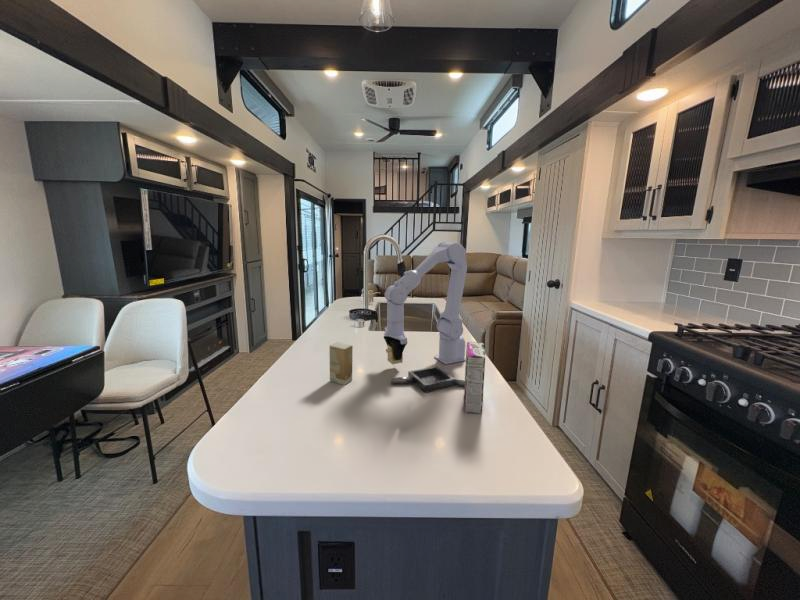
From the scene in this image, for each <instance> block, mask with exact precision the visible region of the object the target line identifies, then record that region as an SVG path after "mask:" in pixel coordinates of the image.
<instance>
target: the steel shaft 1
mask: <svg viewBox="0 0 800 600" xmlns="http://www.w3.org/2000/svg"><path fill="white" fill-rule="evenodd" d="M390 384H391V385H400V384H401V385H402V384H403V385H404V384H414V378H413V377H408V376H401V377H400V376H398V377H391V378H390Z"/></svg>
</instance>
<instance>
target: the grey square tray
mask: <svg viewBox="0 0 800 600" xmlns="http://www.w3.org/2000/svg"><path fill="white" fill-rule="evenodd" d="M407 375H408V376H407V377H413V378H414V383H413V384H414V385H415V386H416V388H418V389H419V390H420V391H422V392H423V393H424V394H429V393H432V392H433V393H434V392H437V391H441V390H446V389H450V388H454V387H456V386H455V385H454V382H455V381H456V379H457V378H455V377H454V376H452V375H450V374H449V373H448V372H446V371H445V370H443V369H442V368H440V367H439V366H438V365H435V366H430V367H424V368H419V369H414V370H410V371H409V370H408V374H407Z"/></svg>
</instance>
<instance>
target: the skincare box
mask: <svg viewBox="0 0 800 600" xmlns="http://www.w3.org/2000/svg"><path fill="white" fill-rule="evenodd" d="M353 348H354V347H353V345H352V344H348V343H344V342H338V341H336V342H334V343H332V344H330V345H329V381H330V382H334V383H336V384H340V385H343V386H345V385H347V384H348V383H350V382H352V381H353Z"/></svg>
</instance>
